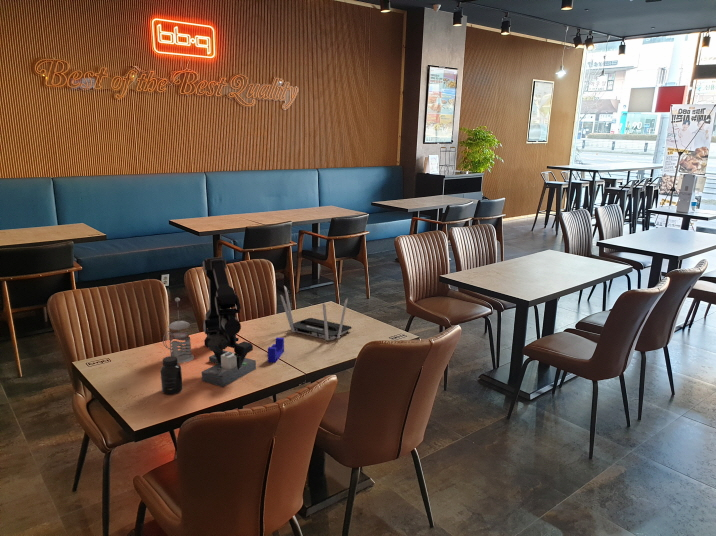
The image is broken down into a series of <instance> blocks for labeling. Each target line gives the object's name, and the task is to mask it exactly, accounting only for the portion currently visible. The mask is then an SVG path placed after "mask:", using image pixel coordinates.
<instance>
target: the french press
mask: <svg viewBox="0 0 716 536" xmlns="http://www.w3.org/2000/svg"><path fill="white" fill-rule="evenodd" d="M174 301H175V302H176V303H177V304H176V305H177V306H179V302H180V301H181V299H180V298H179V297H175V298H174ZM179 314H180V313H179V311H177V318H178V320H177V321H176V320H175V321H173V322H171V323H170V324H168V326H167V327H168V328H169V330H167V331H166V332H165V333H164V335H163V338H162V344H163V346H164V347H165V348H166V349H168V350H169V352H170V353H169V354H170V356H175V357H177V361H178V364H184V363H189V362H190V361H193V360H194V359H195V355H193V354H192V345H191V344H192V343H191V337H190V333H189V332H185V331H182V332H181V331H180V330H184V329H188V328H190V325H191V324H190V323H189V322H188V321H186V320H180V315H179ZM170 330H172V331H173V330H175V331H176V330H177V331H178V332H174V333H173V332H172V331H170ZM169 335H170V338H169V347H168V345H167V337H168V336H169ZM165 336H166V337H165Z"/></svg>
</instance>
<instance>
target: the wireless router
mask: <svg viewBox="0 0 716 536" xmlns="http://www.w3.org/2000/svg"><path fill="white" fill-rule="evenodd" d="M283 288H284V289H283V290H284V294H285V298H284V296H283V295H282V294H280V295H279V296H280V300H281V303H282V306H283V309H284V313H285V315H286V318H287V321H288V324H289V325H288V326H289V328H290V331H291V333H299V334H302V335H306V336H307V335H308V336H312V337H316V338H319V339H323V340H326V341H334V340H335V339H341V336H343V335H344V334H346V333H348V332H349V331H350V330H351V329H353V328H352V326H351V325H350V326H349V325H346V324H344V320H345V315H346V310H347V304H348V299H349V297H348V298H346V299H345V300H344V303H343V308H342V313H341V319H340V323H337V322H332V321H328V319H327V318H328V317H327V309H326V304H325V303H322V313H323V319H318V318H313V317H308V318H305V319H302V320H299V321H296V322H294V319H293V313H292V310H291V309H292V308H291V303H290V297H289V293H288V288H287V287H286V286H285V285H283ZM285 300H286V301H285ZM347 331H348V332H347ZM340 335H341V336H340Z"/></svg>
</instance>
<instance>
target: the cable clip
mask: <svg viewBox="0 0 716 536" xmlns="http://www.w3.org/2000/svg"><path fill="white" fill-rule="evenodd" d="M283 353H285V338H284V337H276V338H275V343H273V344H272V345H271V346H269V347H267V362H268V363H270V364H271V363H272V364H273V363H274V364H276V363H277V361H278V360H279V359H280V358H281V356H282V355H283Z"/></svg>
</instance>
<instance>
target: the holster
mask: <svg viewBox="0 0 716 536" xmlns="http://www.w3.org/2000/svg"><path fill="white" fill-rule="evenodd" d="M227 352H229V351H228V350H224V349H223V354H225V353H227ZM223 354H222V355H223ZM208 361H209V362H210V363H213V364H215V365H216V364H218V361H217V359H216V356H215V354H212V355H210V356H208Z"/></svg>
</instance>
